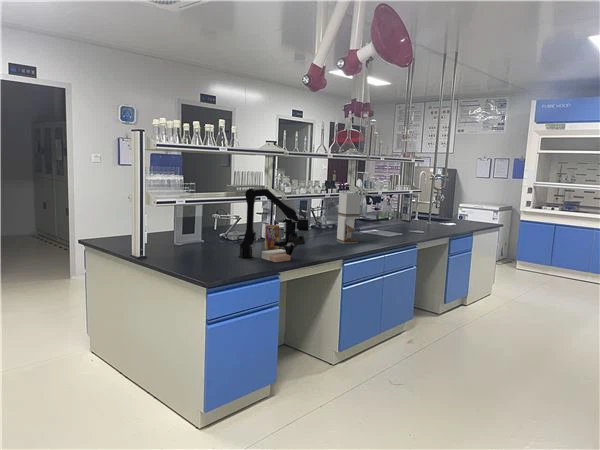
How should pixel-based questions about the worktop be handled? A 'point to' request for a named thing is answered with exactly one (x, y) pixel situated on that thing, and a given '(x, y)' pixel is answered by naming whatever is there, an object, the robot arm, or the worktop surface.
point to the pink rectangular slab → (280, 257)
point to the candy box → (271, 236)
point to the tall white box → (347, 216)
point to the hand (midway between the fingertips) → (289, 257)
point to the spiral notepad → (272, 253)
